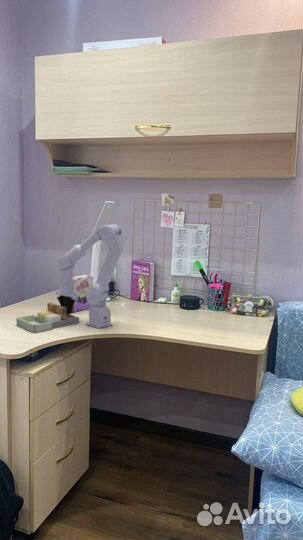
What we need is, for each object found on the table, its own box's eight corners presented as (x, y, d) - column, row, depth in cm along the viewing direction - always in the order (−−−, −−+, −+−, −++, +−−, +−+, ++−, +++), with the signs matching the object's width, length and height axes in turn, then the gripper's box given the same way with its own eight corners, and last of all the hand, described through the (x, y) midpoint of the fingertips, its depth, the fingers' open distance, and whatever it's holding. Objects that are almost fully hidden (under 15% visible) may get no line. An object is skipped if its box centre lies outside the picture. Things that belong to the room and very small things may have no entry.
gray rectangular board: (79, 323, 187) (79, 316, 187) (34, 333, 172) (34, 325, 171) (61, 316, 198) (61, 309, 197) (16, 325, 183) (16, 317, 182)
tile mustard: (53, 317, 187) (53, 312, 186) (43, 319, 183) (43, 314, 183) (47, 315, 190) (47, 310, 190) (37, 316, 187) (37, 312, 186)
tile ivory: (61, 320, 182) (61, 315, 182) (50, 322, 179) (50, 317, 179) (54, 317, 186) (54, 313, 186) (44, 319, 182) (44, 315, 182)
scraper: (80, 315, 188) (80, 305, 188) (62, 318, 182) (62, 308, 181) (64, 309, 197) (64, 300, 196) (47, 313, 191) (47, 303, 190)
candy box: (72, 313, 204) (72, 279, 202) (64, 311, 208) (64, 277, 205) (93, 307, 215) (93, 275, 213) (85, 306, 219) (85, 274, 216)
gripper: (49, 281, 191) (50, 310, 193) (67, 286, 181) (68, 317, 183) (63, 279, 196) (63, 308, 198) (81, 284, 185) (81, 314, 187)
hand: (66, 312), depth 191 cm, fingers closed on scraper, 3 cm apart
